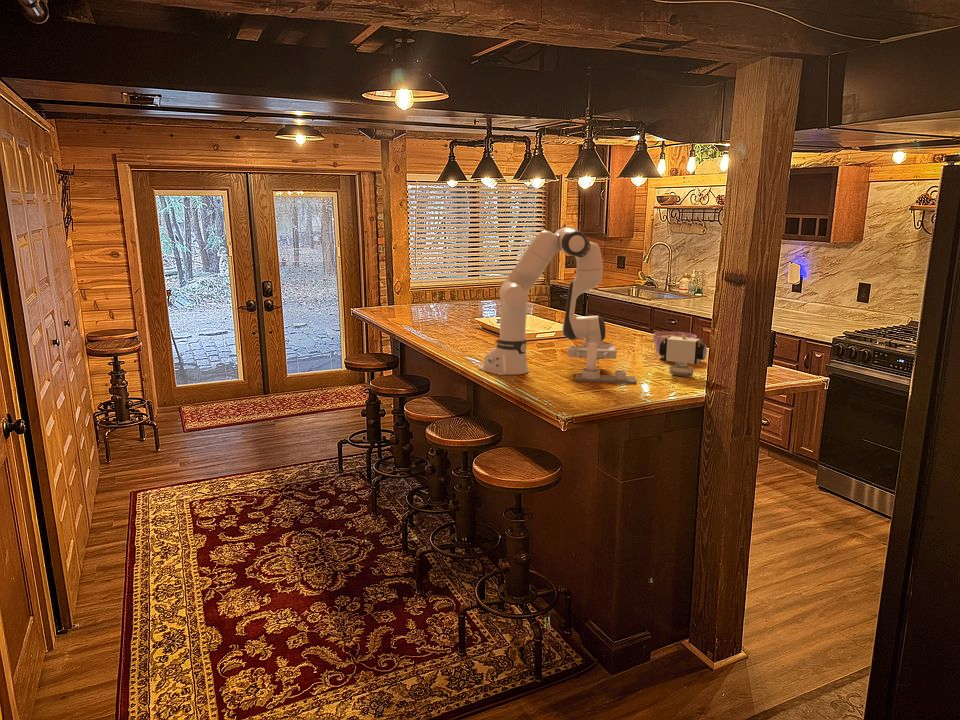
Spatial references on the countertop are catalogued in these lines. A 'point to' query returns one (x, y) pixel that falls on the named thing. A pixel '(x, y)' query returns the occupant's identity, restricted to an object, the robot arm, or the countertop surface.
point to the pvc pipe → (591, 357)
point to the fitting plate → (605, 377)
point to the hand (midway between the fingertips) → (591, 356)
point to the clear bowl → (662, 335)
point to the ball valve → (682, 353)
